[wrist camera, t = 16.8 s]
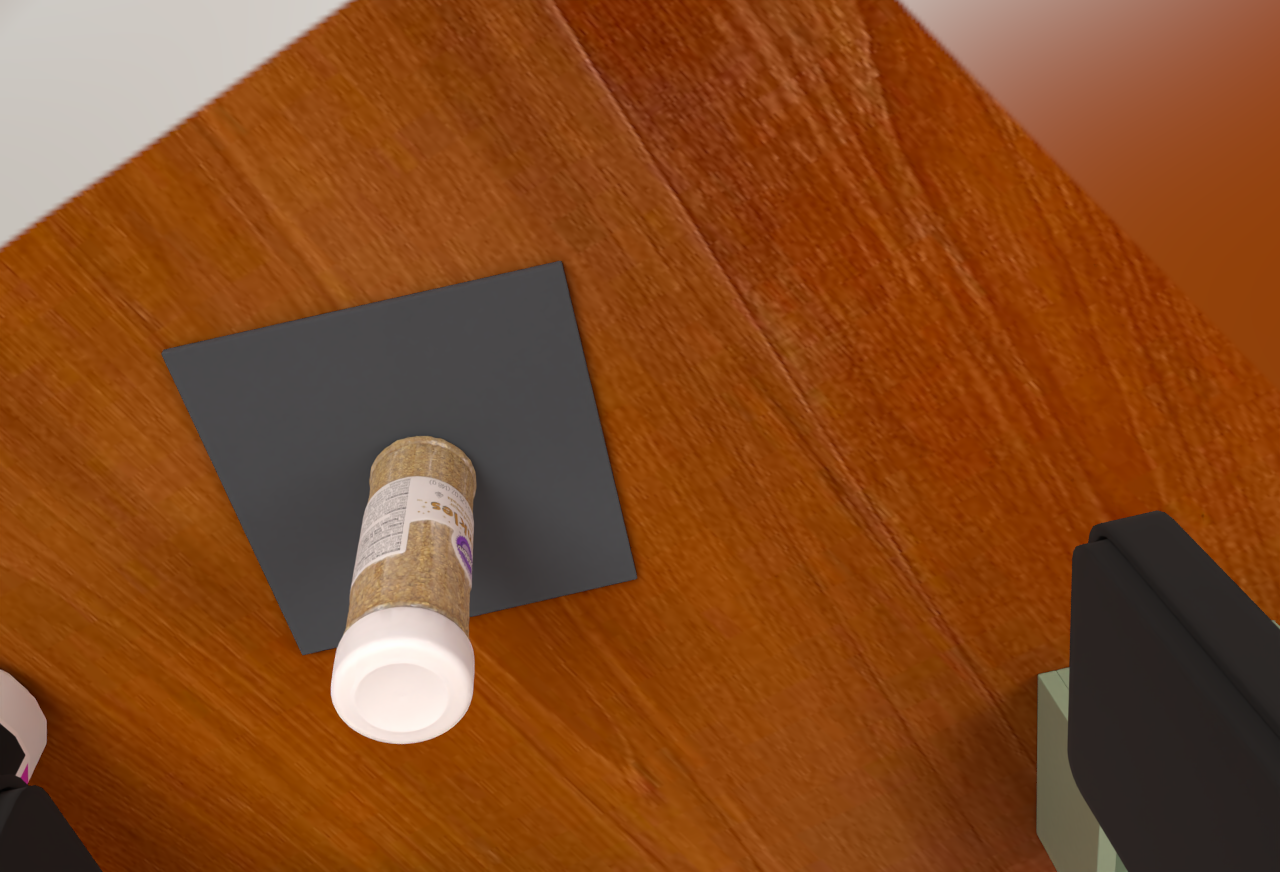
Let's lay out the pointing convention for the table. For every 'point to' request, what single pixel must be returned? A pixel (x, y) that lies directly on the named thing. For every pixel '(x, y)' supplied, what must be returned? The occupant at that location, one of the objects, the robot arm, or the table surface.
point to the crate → (1065, 790)
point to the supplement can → (19, 729)
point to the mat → (407, 407)
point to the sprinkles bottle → (410, 597)
